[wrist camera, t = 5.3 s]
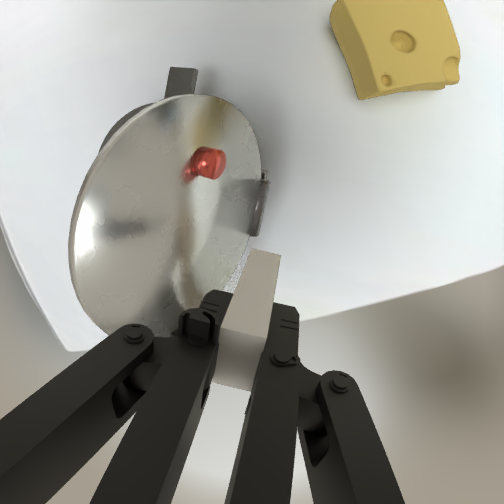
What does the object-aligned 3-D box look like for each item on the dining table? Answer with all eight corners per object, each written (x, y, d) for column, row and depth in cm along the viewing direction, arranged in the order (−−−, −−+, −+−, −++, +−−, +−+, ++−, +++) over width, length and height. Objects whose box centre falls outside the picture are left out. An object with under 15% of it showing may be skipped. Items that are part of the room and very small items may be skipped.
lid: (72, 81, 10) (99, 78, 9) (272, 111, 25) (298, 116, 24) (112, 457, 22) (130, 474, 21) (221, 368, 37) (237, 378, 36)
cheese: (435, 90, 28) (476, 83, 19) (353, 104, 31) (373, 96, 21) (407, 12, 24) (437, -17, 15) (324, 23, 27) (332, -11, 18)
